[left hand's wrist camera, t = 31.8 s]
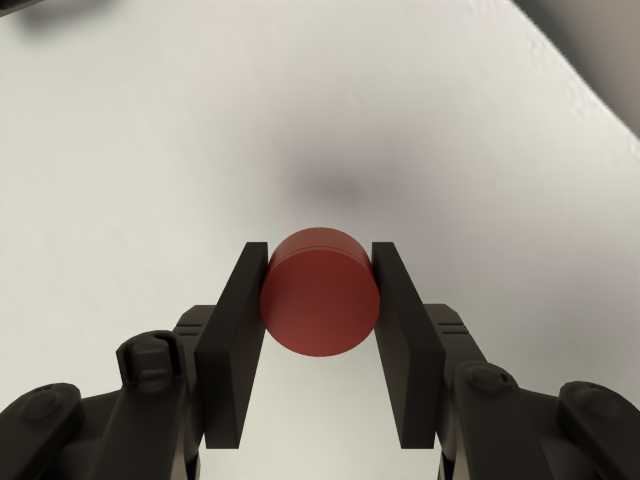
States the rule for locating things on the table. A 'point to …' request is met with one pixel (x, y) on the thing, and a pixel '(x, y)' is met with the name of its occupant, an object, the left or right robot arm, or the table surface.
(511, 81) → the table surface
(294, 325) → the cap
